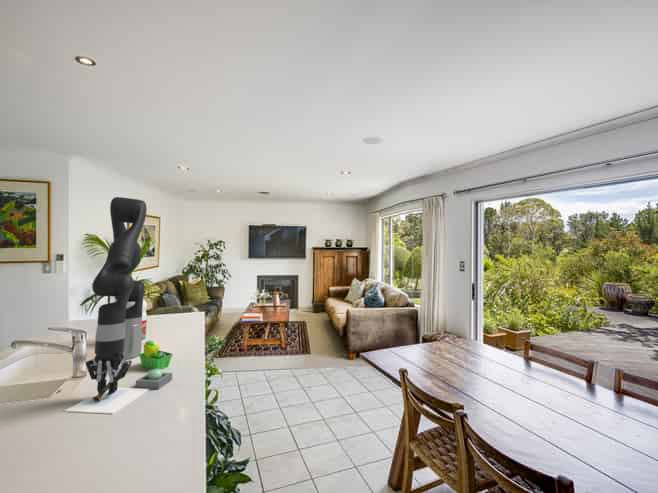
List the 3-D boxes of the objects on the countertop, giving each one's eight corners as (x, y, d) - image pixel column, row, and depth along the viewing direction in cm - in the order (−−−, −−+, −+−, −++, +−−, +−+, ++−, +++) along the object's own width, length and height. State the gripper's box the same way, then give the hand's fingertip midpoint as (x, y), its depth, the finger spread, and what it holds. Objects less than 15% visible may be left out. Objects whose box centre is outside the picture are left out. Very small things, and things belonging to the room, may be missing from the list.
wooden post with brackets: (121, 387, 98) (116, 376, 96) (103, 407, 90) (97, 396, 89) (115, 387, 98) (110, 376, 96) (97, 408, 90) (92, 397, 89)
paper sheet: (108, 387, 100) (108, 386, 100) (148, 389, 100) (149, 388, 100) (64, 411, 84) (64, 410, 84) (112, 414, 84) (112, 412, 84)
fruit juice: (121, 343, 150) (125, 288, 152) (142, 340, 157) (146, 287, 158) (125, 347, 144) (128, 289, 145) (147, 344, 150) (150, 288, 151)
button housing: (150, 378, 108) (150, 372, 108) (171, 379, 108) (172, 372, 108) (135, 388, 100) (135, 380, 100) (158, 389, 100) (159, 381, 100)
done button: (152, 376, 106) (152, 368, 107) (164, 377, 106) (164, 368, 106) (144, 381, 102) (144, 373, 102) (156, 382, 102) (157, 373, 102)
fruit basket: (173, 366, 122) (175, 338, 122) (152, 373, 114) (154, 343, 114) (155, 361, 126) (156, 334, 127) (133, 368, 118) (135, 339, 119)
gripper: (140, 335, 97) (136, 388, 97) (98, 333, 98) (95, 387, 97) (123, 341, 90) (119, 399, 89) (78, 339, 90) (74, 397, 90)
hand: (106, 392), depth 93 cm, fingers closed
